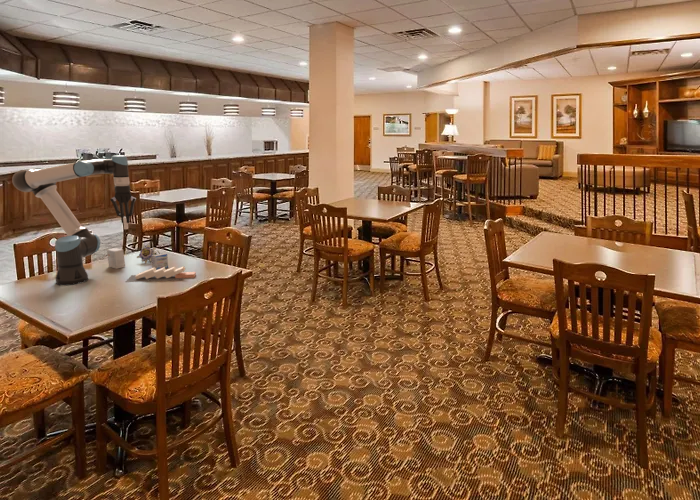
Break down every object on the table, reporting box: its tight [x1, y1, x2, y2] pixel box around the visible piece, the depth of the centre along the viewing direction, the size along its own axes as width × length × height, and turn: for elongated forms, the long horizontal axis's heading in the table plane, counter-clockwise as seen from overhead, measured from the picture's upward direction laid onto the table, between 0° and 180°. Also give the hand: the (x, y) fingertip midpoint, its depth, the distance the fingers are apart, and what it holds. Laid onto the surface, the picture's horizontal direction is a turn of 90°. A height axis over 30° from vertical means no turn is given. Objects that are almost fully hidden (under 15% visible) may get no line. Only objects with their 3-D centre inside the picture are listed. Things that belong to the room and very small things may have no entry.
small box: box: [106, 247, 126, 270], centre depth 296 cm, size 8×6×10 cm
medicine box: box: [150, 252, 169, 270], centre depth 292 cm, size 8×4×9 cm, turn 143°
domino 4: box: [165, 265, 186, 278], centre depth 275 cm, size 2×5×10 cm
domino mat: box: [125, 274, 184, 283], centre depth 274 cm, size 29×13×1 cm, turn 99°
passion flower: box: [136, 245, 161, 264], centre depth 309 cm, size 11×11×12 cm
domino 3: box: [156, 266, 177, 279], centre depth 274 cm, size 2×5×10 cm
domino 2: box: [145, 267, 167, 279], centre depth 274 cm, size 2×5×10 cm
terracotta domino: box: [175, 271, 197, 279], centre depth 276 cm, size 2×5×10 cm
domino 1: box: [135, 267, 156, 279], centre depth 273 cm, size 2×5×10 cm
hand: (126, 228), depth 273 cm, fingers closed
